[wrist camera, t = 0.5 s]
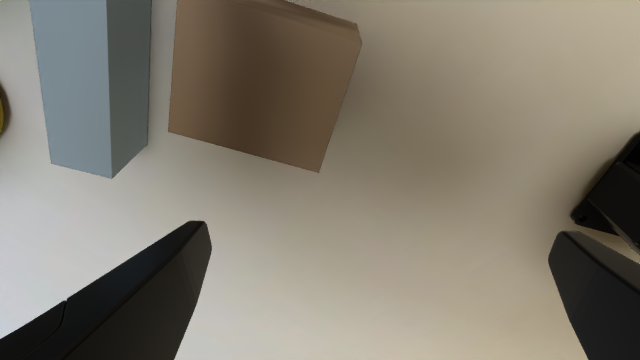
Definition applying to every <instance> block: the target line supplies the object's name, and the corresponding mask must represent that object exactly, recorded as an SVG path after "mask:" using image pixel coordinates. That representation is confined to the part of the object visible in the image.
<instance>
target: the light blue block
mask: <svg viewBox="0 0 640 360" xmlns="http://www.w3.org/2000/svg"><path fill="white" fill-rule="evenodd" d="M29 2H30V10H31V17H32V25H33V32H34V40H35V47H36V54H37V62H38V69H39V77H40V84H41V92H42V99H43V107H44V114H45V122H46V129H47V136H48V144H49V151H50V159H51V164H55V165H59V166H63V167H67V168H71V169H75V170H79V171H83V172H87V173H91V174H95V175H99V176H103V177H107V178H111V179H112V178H113V177H114V176H115V175H116V174H117V173H118V172H119V171H120V170H121V169H122V168H123V167H124V166H125V165H127V164H128V163H129V162H130V161H131V160H132V159H133V158H134V157H135V156H136V155H137V154H138V153H139V152H140V151H141V150H142V149H143V148H144V147H145V146H146V145H147V132H148V97H149V62H150V27H151V0H29Z"/></svg>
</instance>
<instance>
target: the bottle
mask: <svg viewBox="0 0 640 360" xmlns="http://www.w3.org/2000/svg"><path fill="white" fill-rule="evenodd" d="M3 120H4V114H3V105H2V101H1V97H0V133H1V131H2V127H3Z"/></svg>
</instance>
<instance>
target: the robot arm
mask: <svg viewBox="0 0 640 360" xmlns="http://www.w3.org/2000/svg"><path fill="white" fill-rule="evenodd" d="M581 216H583V217H581ZM580 217H581V218H580ZM571 219H572V220H573V221H574V222H575V223H576V224H577V225H580V226H584V227H588V228H591V229H595V230H599V231H602V232H606V233H610V234H613V235H617V236H620V237H621V238H623V239H624V240H625V241H626V242H627V243H628V244H629V245H630V246H631V247H632V248H633V249H634V250H635V251H636V252H637V253H638V254H639V255H640V134H638V135H637V136H636V137H635V138H634V139H633V141H632V142H631V143H630V144H629V145H628V147H627V148H626V149H625V150H624V151H623V153H622V154H621V155H620V156H619V157H618V159H617V160H616V161H615V162H614V164H613V165H612V166H611V167H610V168H609V170H608V171H607V172H606V173H605V174H604V176H603V177H602V178H601V179H600V180H599V182H598V183H597V184H596V185H595V187H594V188H593V189H592V190H591V191H590V193H589V194H588V195H587V196H586V197H585V199H584V200H583V201H582V202H581V203H580V205H579V206H578V207H577V208H576V210H575V211H574V212H573V213H572V215H571ZM211 251H212V245H211V240H210V236H209V232H208V227H207V224H206V223H205V222H204V221H188V222H187V223H185V224H183V225H182V226H180V227H179V228H177V229H176V230H174V231H172V232H171V233H169V234H168V235H166V236H165V237H163V238H161V239H160V240H158V241H157V242H155V243H154V244H152V245H150V246H149V247H147V248H146V249H144V250H143V251H141V252H139V253H138V254H136V255H135V256H133V257H132V258H130V259H128V260H127V261H125V262H124V263H122V264H121V265H119V266H117V267H116V268H114V269H113V270H111V271H110V272H108V273H106V274H105V275H103V276H102V277H100V278H99V279H97V280H95V281H94V282H92V283H91V284H89V285H88V286H86V287H84V288H83V289H81V290H80V291H78V292H77V293H75V294H73V295H72V296H70V297H69V298H67V301H62V302H61V303H59V304H58V305H56V306H54V307H53V308H51V309H50V310H48V311H47V312H45V313H43V314H42V315H40V316H38V317H37V318H35V319H34V320H32V321H30V322H29V323H27V324H25V325H24V326H22V327H20V328H19V329H17V330H15V331H14V332H12V333H10V334H8V335H7V336H5V337H3V338H1V339H0V360H174V359H175V356H176V354H177V351H178V349H179V346H180V344H181V341H182V339H183V337H184V334H185V332H186V329H187V327H188V324H189V322H190V319H191V317H192V315H193V312H194V309H195V307H196V304H197V301H198V298H199V295H200V291H201V288H202V284H203V280H204V277H205V273H206V270H207V266H208V263H209V259H210V256H211ZM548 262H549V266H550V269H551V272H552V275H553V277H554V280H555V283H556V286H557V288H558V291H559V294H560V297H561V299H562V302H563V305H564V308H565V310H566V313H567V315H568V318H569V320H570V323H571V325H572V327H573V329H574V331H575V333H576V335H577V337H578V339H579V341H580V343H581V345H582V347H583V349H584V351H585V353H586V355H587V358H588V360H640V264H638V263H636V262H634V261H633V260H631V259H629V258H627V257H625V256H623V255H622V254H620V253H618V252H616V251H614V250H612V249H611V248H609V247H607V246H605V245H603V244H601V243H600V242H598V241H596V240H594V239H592V238H590V237H589V236H587V235H585V234H583V233H581V232H578V231H561V232H559V233H558V234H557V236H556V239H555V241H554V244H553V246H552V249H551V251H550V254H549V258H548Z"/></svg>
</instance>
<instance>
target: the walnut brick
mask: <svg viewBox="0 0 640 360" xmlns="http://www.w3.org/2000/svg"><path fill="white" fill-rule="evenodd" d="M361 45H362V42H361V38H360V34H359V31H358V27H357V24H355V23H352V22H349V21H346V20H343V19H340V18H337V17H334V16H331V15H328V14H324V13H321V12H318V11H315V10H312V9H309V8H306V7H303V6H300V5H297V4H294V3H290V2H287V1H284V0H177V11H176V26H175V40H174V55H173V69H172V83H171V98H170V112H169V127H168V132H171V133H175V134H178V135H182V136H186V137H189V138H193V139H197V140H200V141H204V142H208V143H211V144H215V145H219V146H222V147H226V148H230V149H233V150H237V151H241V152H244V153H248V154H252V155H255V156H259V157H263V158H266V159H270V160H274V161H277V162H281V163H285V164H288V165H292V166H296V167H299V168H303V169H307V170H311V171H314V172H318V173H319V170H320V167H321V164H322V161H323V158H324V155H325V152H326V150H327V147H328V144H329V141H330V138H331V135H332V132H333V129H334V126H335V123H336V120H337V117H338V114H339V111H340V108H341V105H342V102H343V99H344V96H345V93H346V90H347V87H348V84H349V81H350V78H351V75H352V72H353V69H354V66H355V63H356V60H357V57H358V54H359V51H360V48H361Z"/></svg>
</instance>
